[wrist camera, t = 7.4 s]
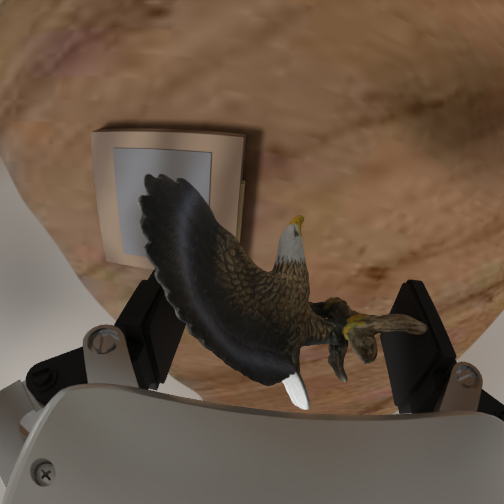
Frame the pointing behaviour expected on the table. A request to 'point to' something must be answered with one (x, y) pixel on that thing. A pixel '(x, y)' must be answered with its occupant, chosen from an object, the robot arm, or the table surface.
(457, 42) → the table surface
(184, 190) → the eagle figurine
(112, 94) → the table surface
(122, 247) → the wooden picture frame
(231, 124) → the table surface
